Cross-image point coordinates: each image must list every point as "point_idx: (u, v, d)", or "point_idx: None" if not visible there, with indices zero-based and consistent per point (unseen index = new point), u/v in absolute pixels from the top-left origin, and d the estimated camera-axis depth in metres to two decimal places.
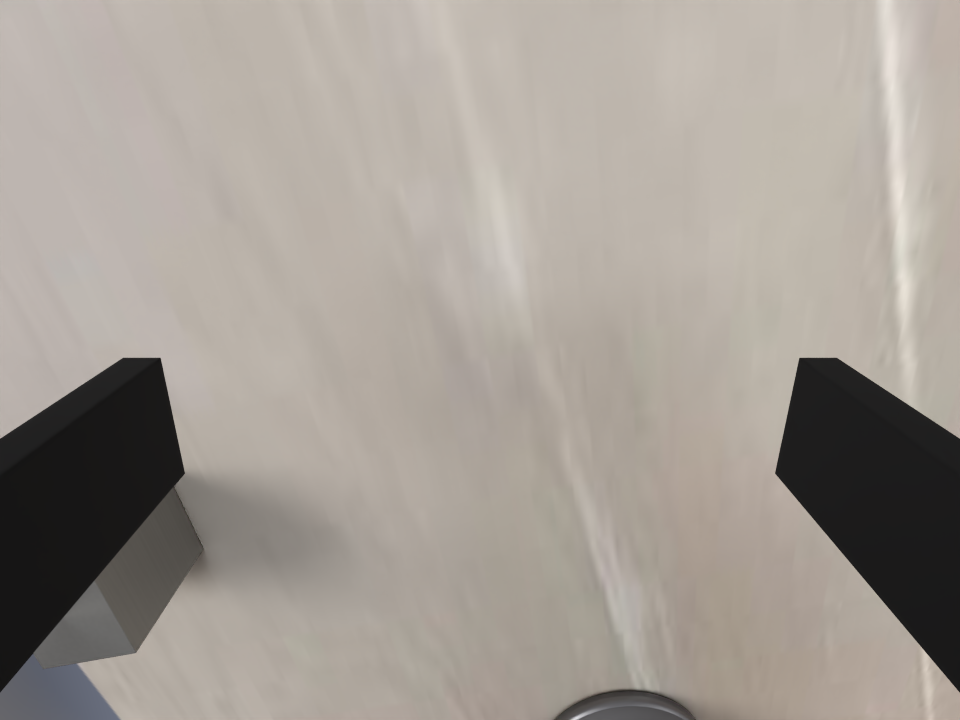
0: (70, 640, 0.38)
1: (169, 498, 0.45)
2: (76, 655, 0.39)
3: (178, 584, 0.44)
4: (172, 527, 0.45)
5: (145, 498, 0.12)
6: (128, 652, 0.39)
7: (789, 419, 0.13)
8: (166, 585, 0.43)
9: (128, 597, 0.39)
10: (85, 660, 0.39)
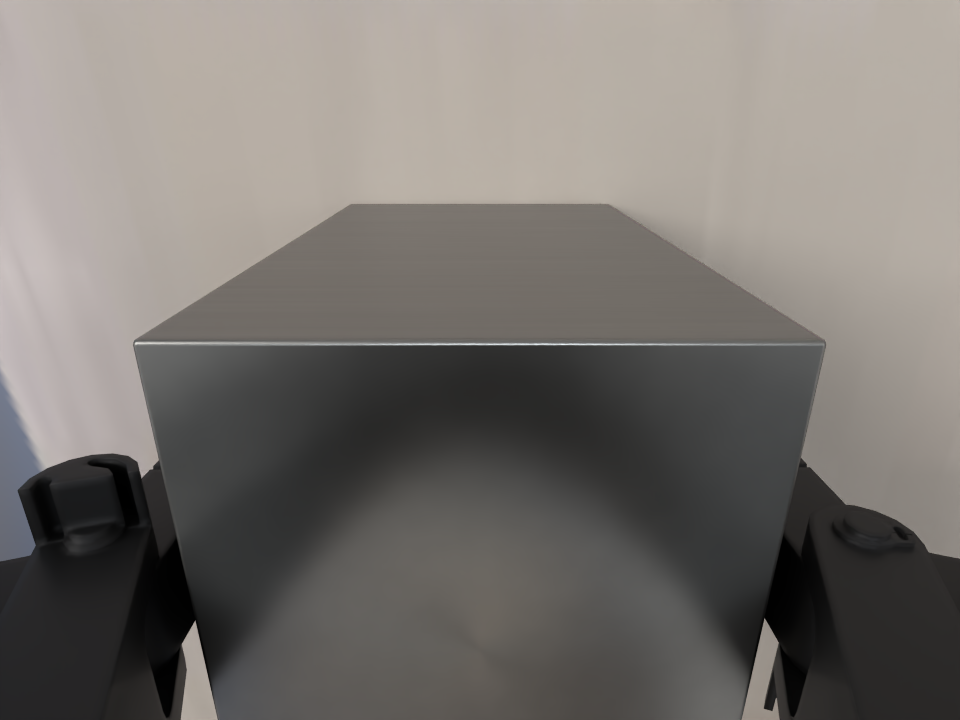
0: None
1: None
2: None
3: None
4: None
5: None
6: None
7: None
8: None
9: None
10: None
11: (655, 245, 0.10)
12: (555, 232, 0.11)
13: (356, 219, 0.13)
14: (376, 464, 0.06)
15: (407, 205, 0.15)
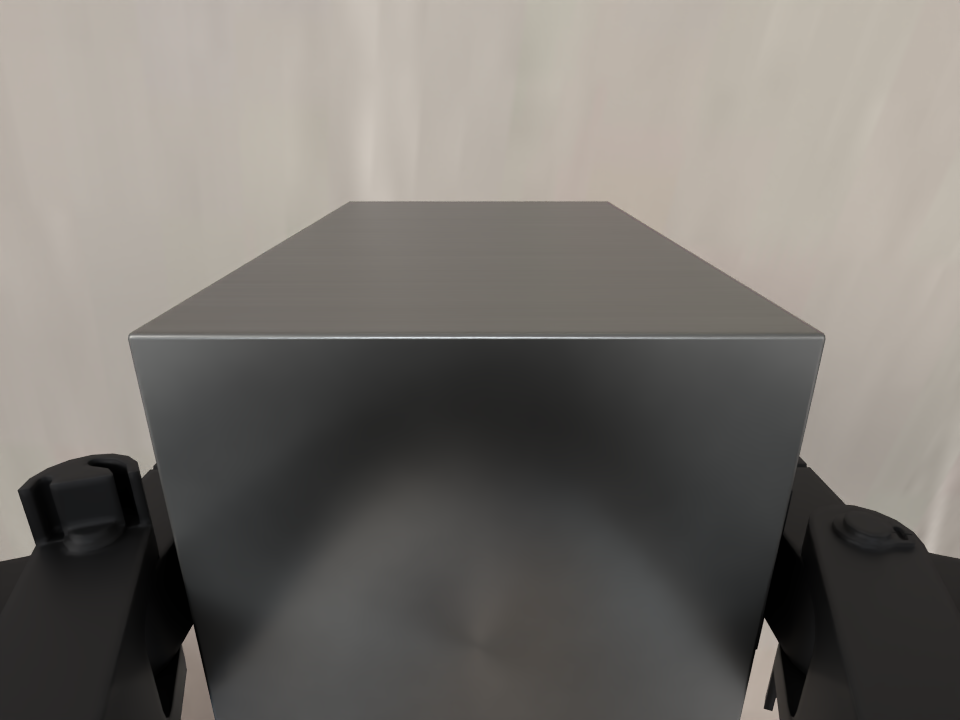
0: None
1: None
2: None
3: None
4: None
5: None
6: None
7: None
8: None
9: None
10: None
11: (655, 240, 0.10)
12: (554, 229, 0.11)
13: (354, 216, 0.13)
14: (373, 458, 0.06)
15: (406, 202, 0.15)
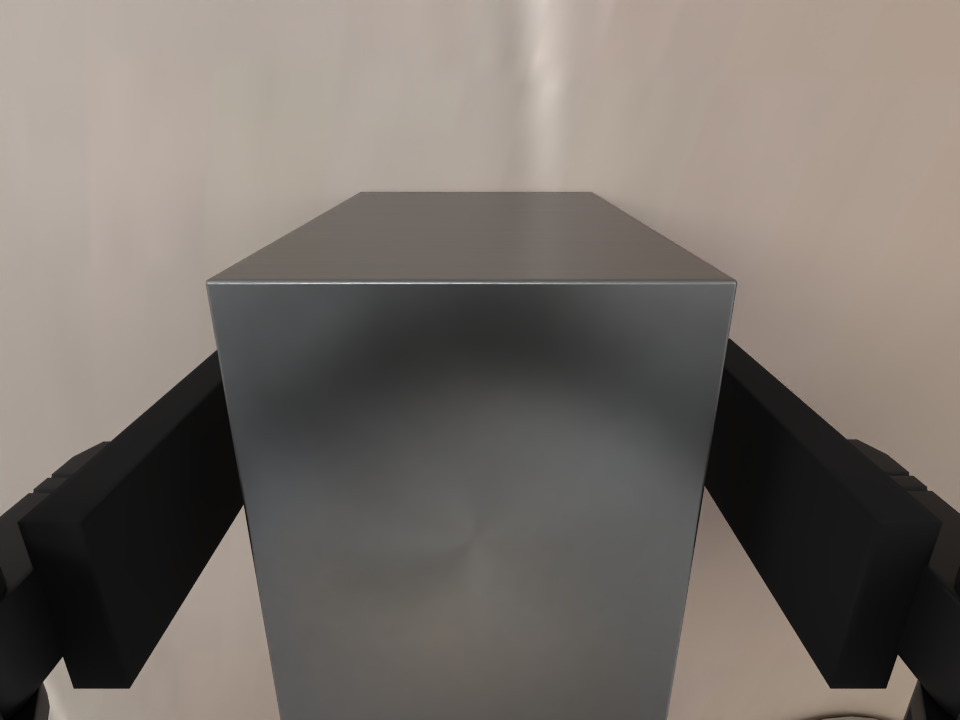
0: (450, 637, 0.09)
1: None
2: (441, 695, 0.10)
3: None
4: None
5: None
6: (640, 717, 0.10)
7: None
8: None
9: None
10: (462, 719, 0.10)
11: (624, 221, 0.12)
12: (540, 212, 0.13)
13: (367, 203, 0.14)
14: (391, 380, 0.08)
15: (411, 192, 0.17)
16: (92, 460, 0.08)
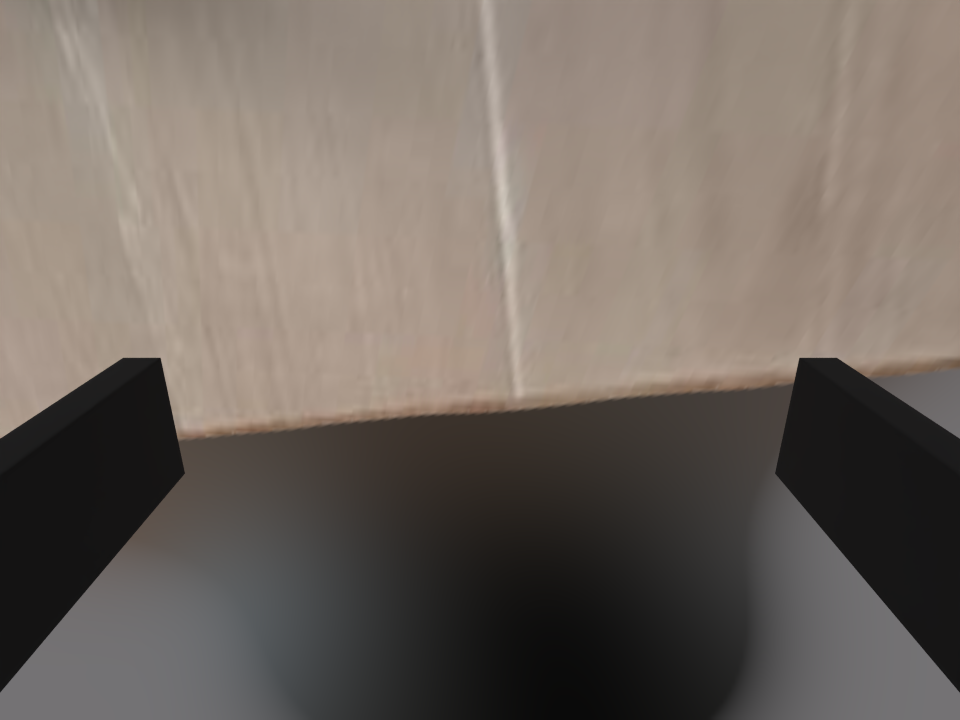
0: None
1: None
2: None
3: None
4: None
5: (145, 498, 0.12)
6: None
7: (788, 419, 0.13)
8: None
9: None
10: None
11: None
12: None
13: None
14: None
15: None
16: None
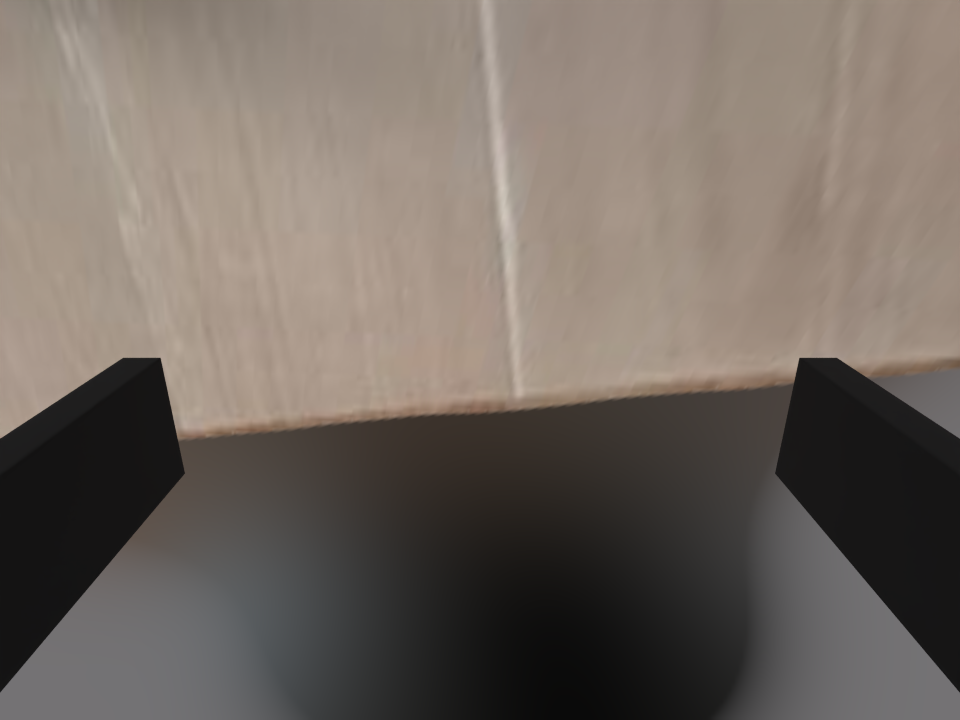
0: None
1: None
2: None
3: None
4: None
5: (145, 498, 0.12)
6: None
7: (788, 419, 0.13)
8: None
9: None
10: None
11: None
12: None
13: None
14: None
15: None
16: None
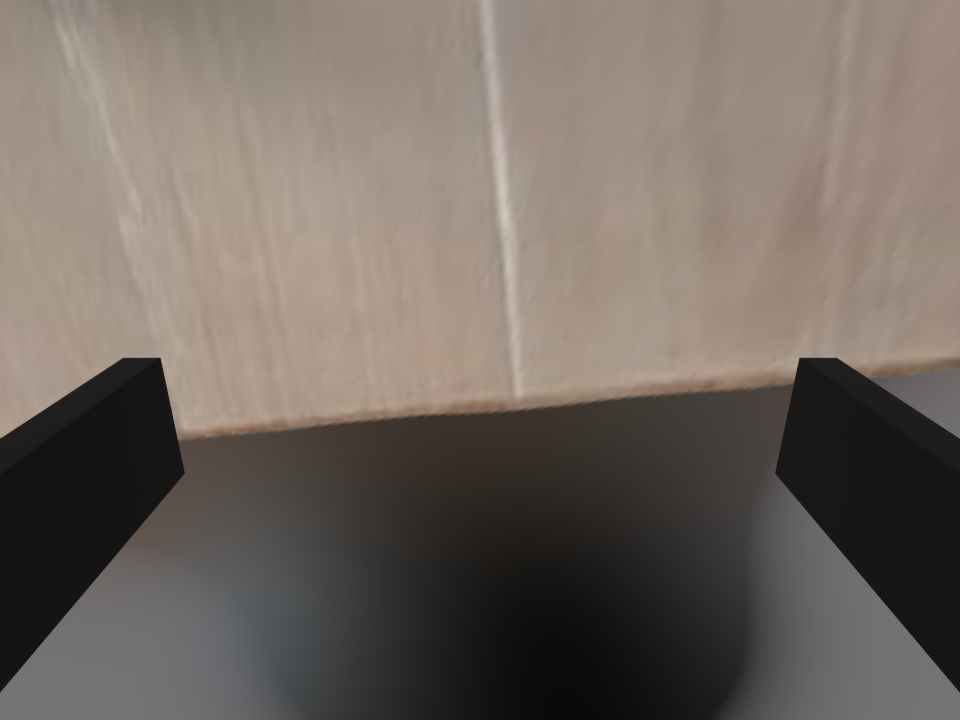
0: None
1: None
2: None
3: None
4: None
5: (145, 498, 0.12)
6: None
7: (788, 419, 0.13)
8: None
9: None
10: None
11: None
12: None
13: None
14: None
15: None
16: None
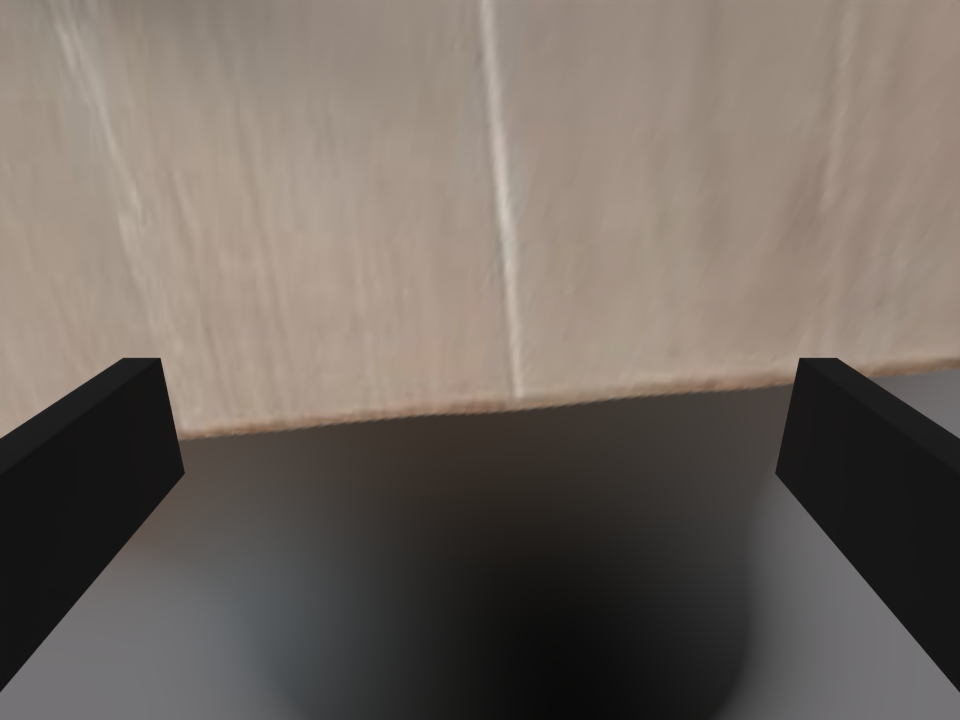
0: None
1: None
2: None
3: None
4: None
5: (145, 498, 0.12)
6: None
7: (788, 419, 0.13)
8: None
9: None
10: None
11: None
12: None
13: None
14: None
15: None
16: None
